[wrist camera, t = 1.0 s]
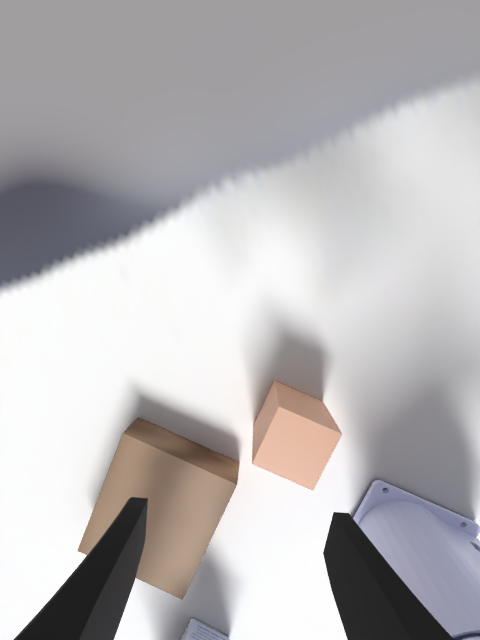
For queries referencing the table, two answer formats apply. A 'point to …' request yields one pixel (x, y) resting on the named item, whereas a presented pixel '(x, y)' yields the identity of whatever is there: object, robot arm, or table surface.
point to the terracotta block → (294, 435)
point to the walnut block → (165, 501)
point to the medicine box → (201, 632)
